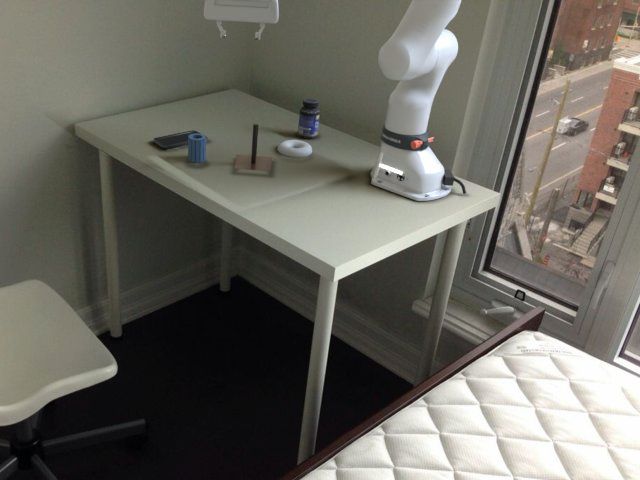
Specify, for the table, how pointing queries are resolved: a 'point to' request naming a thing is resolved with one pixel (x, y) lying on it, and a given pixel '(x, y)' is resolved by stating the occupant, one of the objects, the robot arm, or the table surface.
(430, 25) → the robot arm
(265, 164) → the dowel stand
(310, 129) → the pill bottle
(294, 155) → the donut
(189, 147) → the tube
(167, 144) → the phone
